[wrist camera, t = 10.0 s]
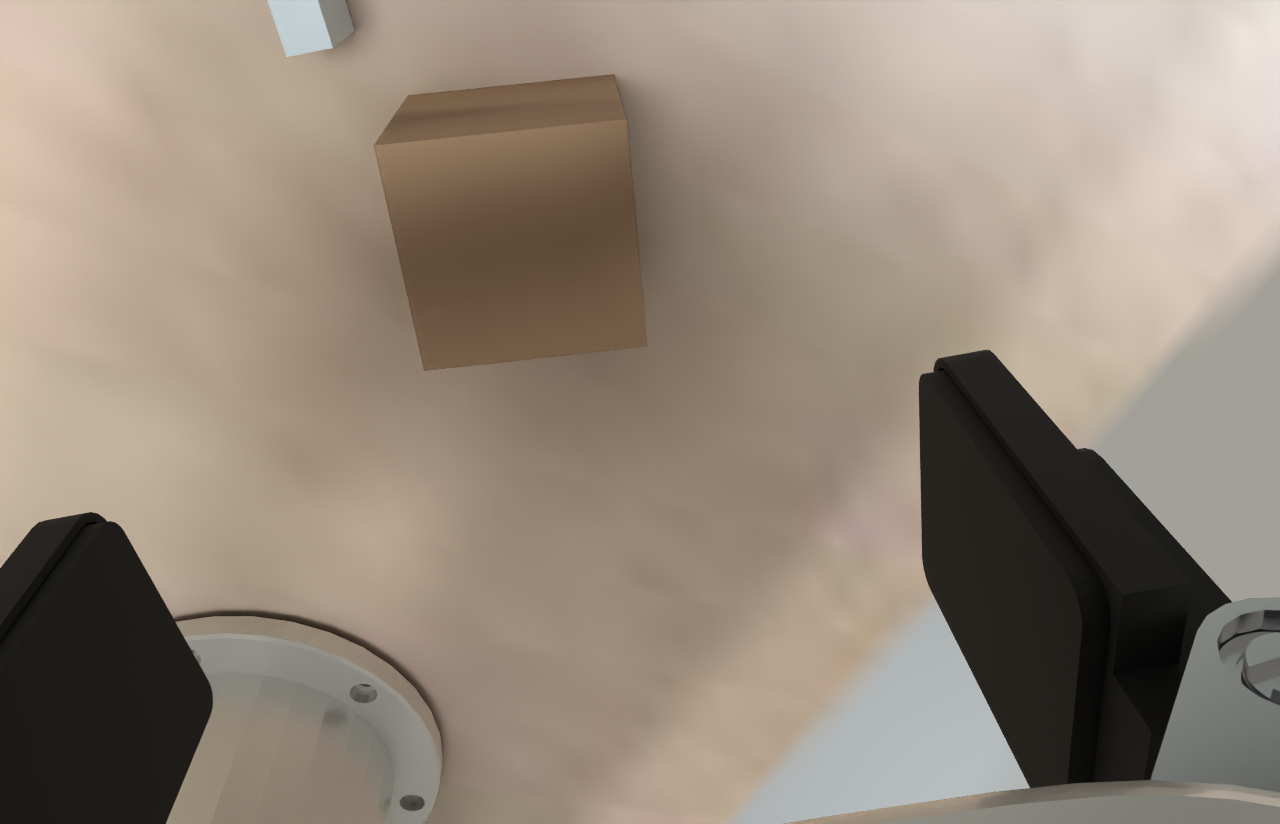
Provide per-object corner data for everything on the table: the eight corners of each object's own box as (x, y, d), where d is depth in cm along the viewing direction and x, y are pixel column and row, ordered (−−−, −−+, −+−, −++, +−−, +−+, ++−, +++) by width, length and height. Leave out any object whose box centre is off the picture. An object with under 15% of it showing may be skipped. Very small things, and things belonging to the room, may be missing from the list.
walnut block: (631, 266, 26) (646, 345, 21) (446, 286, 25) (424, 370, 21) (613, 73, 23) (626, 119, 19) (408, 95, 23) (374, 145, 19)
